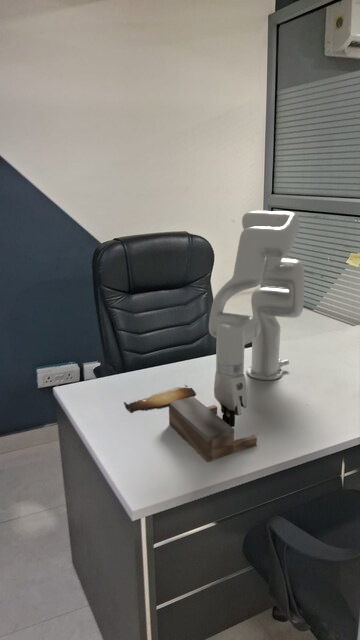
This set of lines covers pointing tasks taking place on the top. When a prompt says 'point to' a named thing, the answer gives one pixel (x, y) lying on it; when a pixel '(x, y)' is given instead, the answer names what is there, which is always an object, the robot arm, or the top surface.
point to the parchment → (161, 399)
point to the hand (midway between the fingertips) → (228, 426)
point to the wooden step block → (205, 429)
